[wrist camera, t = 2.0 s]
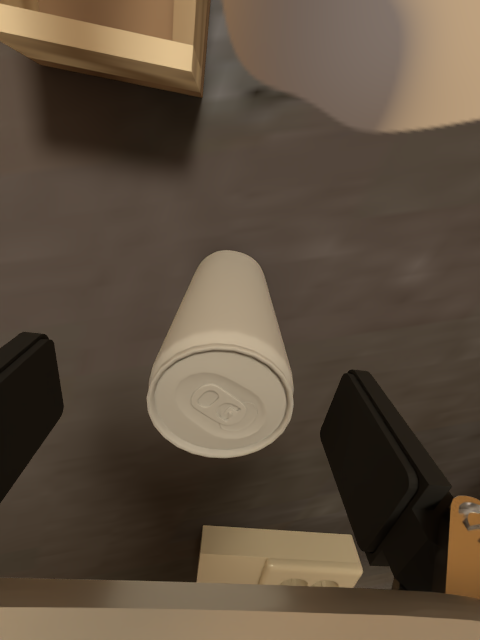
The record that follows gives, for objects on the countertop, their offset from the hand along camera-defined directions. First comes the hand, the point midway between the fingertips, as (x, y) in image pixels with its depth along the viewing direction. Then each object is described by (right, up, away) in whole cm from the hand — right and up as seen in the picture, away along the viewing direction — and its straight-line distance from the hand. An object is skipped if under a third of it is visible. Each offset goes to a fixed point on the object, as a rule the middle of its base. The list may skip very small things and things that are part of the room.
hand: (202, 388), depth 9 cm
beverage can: (+1, +5, +10) cm, 11 cm away
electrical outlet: (+5, -25, +26) cm, 37 cm away
